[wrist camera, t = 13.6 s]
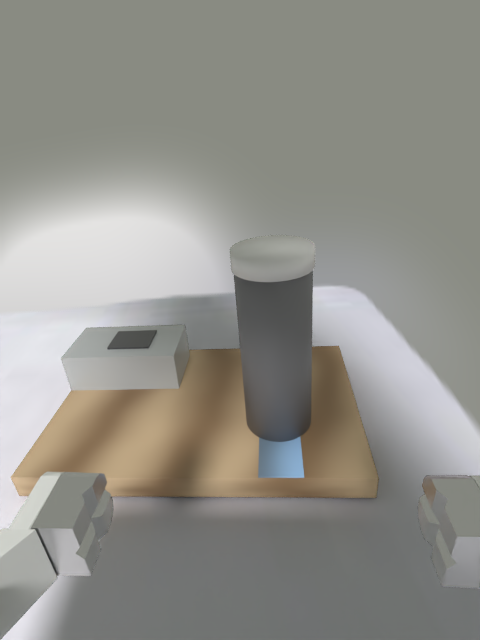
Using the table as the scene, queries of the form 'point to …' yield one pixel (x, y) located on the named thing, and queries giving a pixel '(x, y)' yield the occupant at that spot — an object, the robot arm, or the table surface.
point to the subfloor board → (207, 438)
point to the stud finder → (128, 358)
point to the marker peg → (275, 332)
